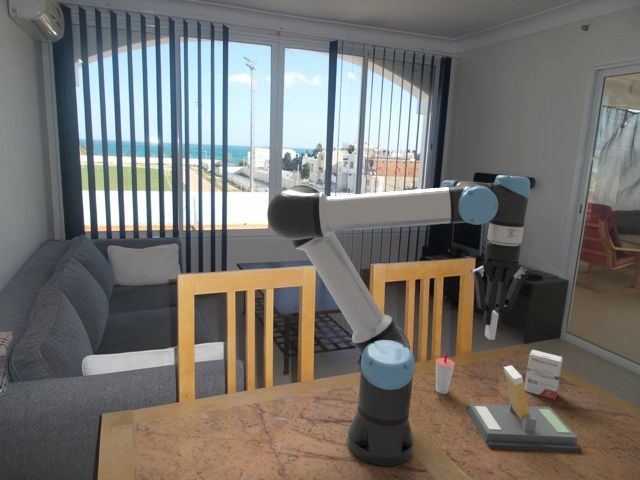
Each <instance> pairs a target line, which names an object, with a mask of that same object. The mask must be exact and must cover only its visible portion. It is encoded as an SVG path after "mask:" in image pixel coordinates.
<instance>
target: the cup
mask: <svg viewBox="0 0 640 480" xmlns="http://www.w3.org/2000/svg"><path fill="white" fill-rule="evenodd" d="M455 365H456V363H455V361H453V360H452V359H448V352H446V351H445V353H444V357H438V358H436V359H435V391H436V393H438V394H442V395H447V394H448V392H449V388H450V385H451V381H452V377H453V372H454V368H455Z"/></svg>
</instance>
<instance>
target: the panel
mask: <svg viewBox="0 0 640 480" xmlns="http://www.w3.org/2000/svg"><path fill="white" fill-rule="evenodd" d="M507 403H508V404H489V403H471V402H470V403H468V405H467V406H468V411H467V413H468V415H469V416H470V418H471V420H472V422H473V423H474V425H475V427H476V428H477V430H478V432H479V433H480V436H481V437H482V439H483V440H484V442H485V443H486V444H488V442H509V443H532V444H555V445H577V444H578V436H577V434H575V433H574V432H573V430H572V429H571V428H570V427H569V426H568V425H567V424H566V423H565V422H564V421H563V420H562V419H561V417H560V416H559V415H558V414H557V413H556V412H555V411H554V410H553V408H551V407H550V406H539V407H535V406H532V405H531V406H530V405H528V408H529V413H530V416H524V418H523V422H522V420H521V419H520V418H519V416H518V415H517V414H516V413H515V411H514V410H513V409H512V404H511V400H510V396H509V397H508V402H507Z"/></svg>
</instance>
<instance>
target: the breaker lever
mask: <svg viewBox="0 0 640 480" xmlns="http://www.w3.org/2000/svg"><path fill="white" fill-rule="evenodd" d="M503 371H504V375H505V381H506V385H507V390H508V394H509V397H510V400H511V404H512V409H513V410H514V411H515V413H516V414H517V415H518V416H519V418H520V419H521V420H522V422H523V418H524V416H530V413H529V408H528V406H529V404H528V399H527V395H526V391H525V388H524V387H525V382H524V378H523V375H521V373H520V372H519V371H517V369H516V368H515V367H514V366H513V365H512V364H511V365H507V366H503Z"/></svg>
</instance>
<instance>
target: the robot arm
mask: <svg viewBox="0 0 640 480" xmlns="http://www.w3.org/2000/svg"><path fill="white" fill-rule="evenodd" d="M530 190H531V181H530V179H529V178H528V177H526V176H519V175H517V176H516V175H507V174H505V175H504V174H503V175H502V174H499V175H497V176H496V177H495V180H494V182H480V181H478V182H477V181H471V180H470V181H468V180H458V179H454V180H453V179H451V180H449V179H446V180H444V181H442V183H441V185H440V187H438V188H437V187H435V188H425V189H424V188H422V189H411V190H396V191H387V192H386V191H384V192H383V191H382V192H372V193H358V194H347V195H337V196H336V195H334V196H333V195H332V196H331V195H330V196H328V195H327V194H325V192H320V191H319V190H318V189H317V188H315V187H312V186H308V185H305V184H304V185H303V184H299V185H294V186H292V187H290V188H288V189H285V190H282V191H280V192H278V193H277V194H275V196H274V197H273V198H272V199H271V200H270V202H269V204H268V208H267V211H266V213H267V216H266V217H267V220H268V224H269V226H270V228H271V230H272V231H273V232H274V233H275V234H276V235H277V236H279V237H280V238H282V239H284V240H289V241H291V243H292V244H293V247H294V248H295V249H296V250H299V251H303V252H305V254H306V255H307V257H308V259H309V260H310V262H311V264H312V265H313V267H314V268H315V270H316V272H317V274H318V276H319V278H320V279H321V280H322V282H323V284H324V286H325V287H326V289H327V290H328V292H329V294H330V295H331V297H332V299H333V300H334V302H335V304H336V305H337V307H338V308H339V310H340V312H341V313H342V315H343V316H344V319H345V321H346V322H347V323H348V325H349V326H350V328H351V330H352V331H353V332H352V336H351V341H352V343H353V345H354V346H355V347H356V349H357V351H358V353H359V355H360V356H361V357H360V358H361V359H360V375H359V377H360V378H359V388H358V401H357V410H356V411H355V414H354V417H353V419H352V421H351V423H350V425H349V427H348V431H347V436H346V437H347V439H346V443H347V447H348V449H349V450H350V452H351V453H352V454H353V455H354V456H356V457H357V458H358V459H360V460H361V461H364V462H365V463H368V464H371V465H376V466H381V467H394V466H398V465H401V464H404V463H405V462H407V461H408V460H410V458H411V457H412V454H413V450H414V437H413V432H412V428H411V424H410V420H409V417H410V409H411V408H410V407H411V399H412V398H411V397H412V389H413V388H412V387H413V380H414V374H415V371H416V369H415V368H416V366H415V365H416V364H415V357H414V354H413V352H412V351H411V345H410V341H409V338H408V337H407V334H406V333H405V331H404V330H402V329H401V327H399V326H397V324H396V323H395V320H394V319H393V318H392V316H391V315H389V314H384V313H382V310H381V309H380V307H379V306H378V304H377V303H376V300H375V299H374V297H373V296H372V294H371V293H370V291H369V289H368V287H367V285H366V284H365V282H364V281H363V279H362V278H361V276H360V274H359V273H358V270H357V269H356V267H355V266H354V264H353V262H352V260H351V259H350V258H349V255H348V253H346V252H347V251H346V250H345V249H344V247H343V246H342V244H341V242H340V240H339V239H338V238H337V236H336V233H335V232H345V231H347V232H348V231H359V230H360V231H361V230H373V229H387V228H389V229H390V228H398V227H399V228H400V227H413V226H414V227H415V226H428V225H441V224H442V225H443V224H460V223H461V224H464V223H467V224H471V225H477V226H478V225H484V224H487V223H488V229H487V237H486V238H487V240H488V241H487V242H486V244H485V252H484V258H483V261H482V263H481V265H480V266H479V267H477V268H472V269H471V270H470V272H471V274H472V276H473V279H474V286H475V297H476V305H477V307H478V308H479V309H480V310H481V311H483V318H482V322H483V324H484V325H485V329H484V336H485V338H487V340H492V341H495V340H496V334H497V328H498V326H501V324H502V319H503V318H502V317H503V316H504V315H505V314H506V312H509V313H510V312H511V311H512V309H513V306H514V304H515V302H516V299H517V297H518V294H519V292H520V290H521V287H522V285H523V283H524V282H525V281H526V280H527V279H528V277H529V276H528V274H527V273H525V272H523V271H522V270H520V266H519V259H520V256H521V255H520V254H521V248H522V246H521V245H520V244H521V243H522V241H523V235H524V228H525V221H526V216H527V210H528V206H529V205H528V204H529V200H530V193H531V192H530ZM484 273H485V275H486V277H487V280H486V281H487V286H486V292H485V285H484V279H483V277H484ZM512 278H513V279H512ZM511 279H512V281H511V283H510V280H511ZM509 285H510V286H509ZM508 287H509V288H508Z"/></svg>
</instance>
